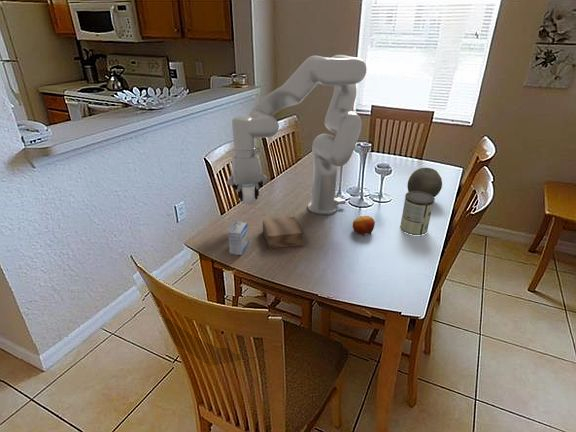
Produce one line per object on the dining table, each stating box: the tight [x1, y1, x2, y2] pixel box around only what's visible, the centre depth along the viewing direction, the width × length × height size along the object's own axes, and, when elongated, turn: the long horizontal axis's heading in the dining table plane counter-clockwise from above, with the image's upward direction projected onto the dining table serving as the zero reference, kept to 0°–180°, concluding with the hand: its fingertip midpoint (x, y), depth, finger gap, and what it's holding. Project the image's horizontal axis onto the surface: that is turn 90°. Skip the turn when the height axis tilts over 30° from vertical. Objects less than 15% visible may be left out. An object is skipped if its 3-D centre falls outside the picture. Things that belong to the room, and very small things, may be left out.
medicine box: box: [227, 221, 249, 256], centre depth 128 cm, size 8×4×9 cm, turn 168°
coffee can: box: [399, 191, 436, 235], centre depth 140 cm, size 10×10×14 cm
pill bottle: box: [241, 183, 256, 205], centre depth 138 cm, size 5×5×8 cm
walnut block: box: [262, 216, 303, 249], centre depth 135 cm, size 12×12×5 cm
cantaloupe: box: [407, 167, 443, 198], centre depth 163 cm, size 14×14×15 cm
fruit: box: [352, 215, 376, 237], centre depth 139 cm, size 8×8×8 cm
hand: (248, 198), depth 139 cm, fingers closed on pill bottle, 5 cm apart
